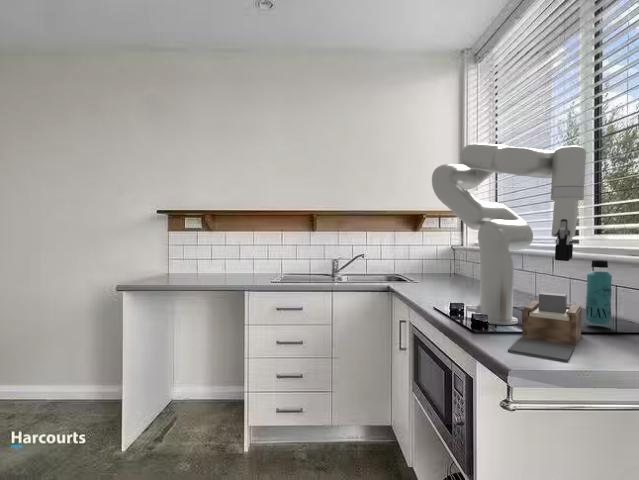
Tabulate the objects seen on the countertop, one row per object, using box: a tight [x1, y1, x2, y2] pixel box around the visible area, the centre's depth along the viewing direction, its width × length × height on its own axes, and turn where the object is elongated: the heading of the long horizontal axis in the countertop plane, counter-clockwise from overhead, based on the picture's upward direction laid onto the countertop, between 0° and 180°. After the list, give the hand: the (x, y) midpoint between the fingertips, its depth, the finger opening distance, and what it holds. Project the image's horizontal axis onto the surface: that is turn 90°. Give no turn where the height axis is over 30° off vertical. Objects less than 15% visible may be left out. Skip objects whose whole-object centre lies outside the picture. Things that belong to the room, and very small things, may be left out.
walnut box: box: [521, 300, 583, 348], centre depth 111 cm, size 12×14×8 cm
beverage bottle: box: [584, 259, 613, 325], centre depth 124 cm, size 6×7×20 cm
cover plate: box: [529, 291, 571, 321], centre depth 111 cm, size 9×12×6 cm
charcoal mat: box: [507, 337, 576, 363], centre depth 98 cm, size 12×14×1 cm
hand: (563, 259), depth 110 cm, fingers open, 9 cm apart
